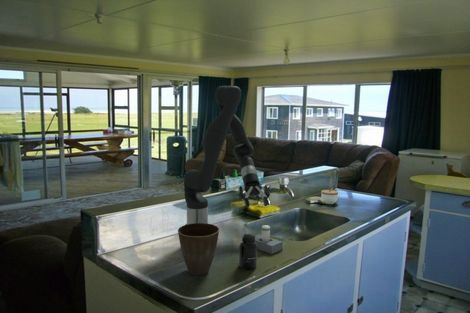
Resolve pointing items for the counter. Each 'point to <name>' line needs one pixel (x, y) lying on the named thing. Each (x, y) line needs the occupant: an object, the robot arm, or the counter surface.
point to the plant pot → (198, 246)
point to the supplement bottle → (248, 252)
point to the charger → (265, 233)
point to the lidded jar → (329, 196)
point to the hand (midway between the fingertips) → (257, 206)
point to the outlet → (268, 245)
